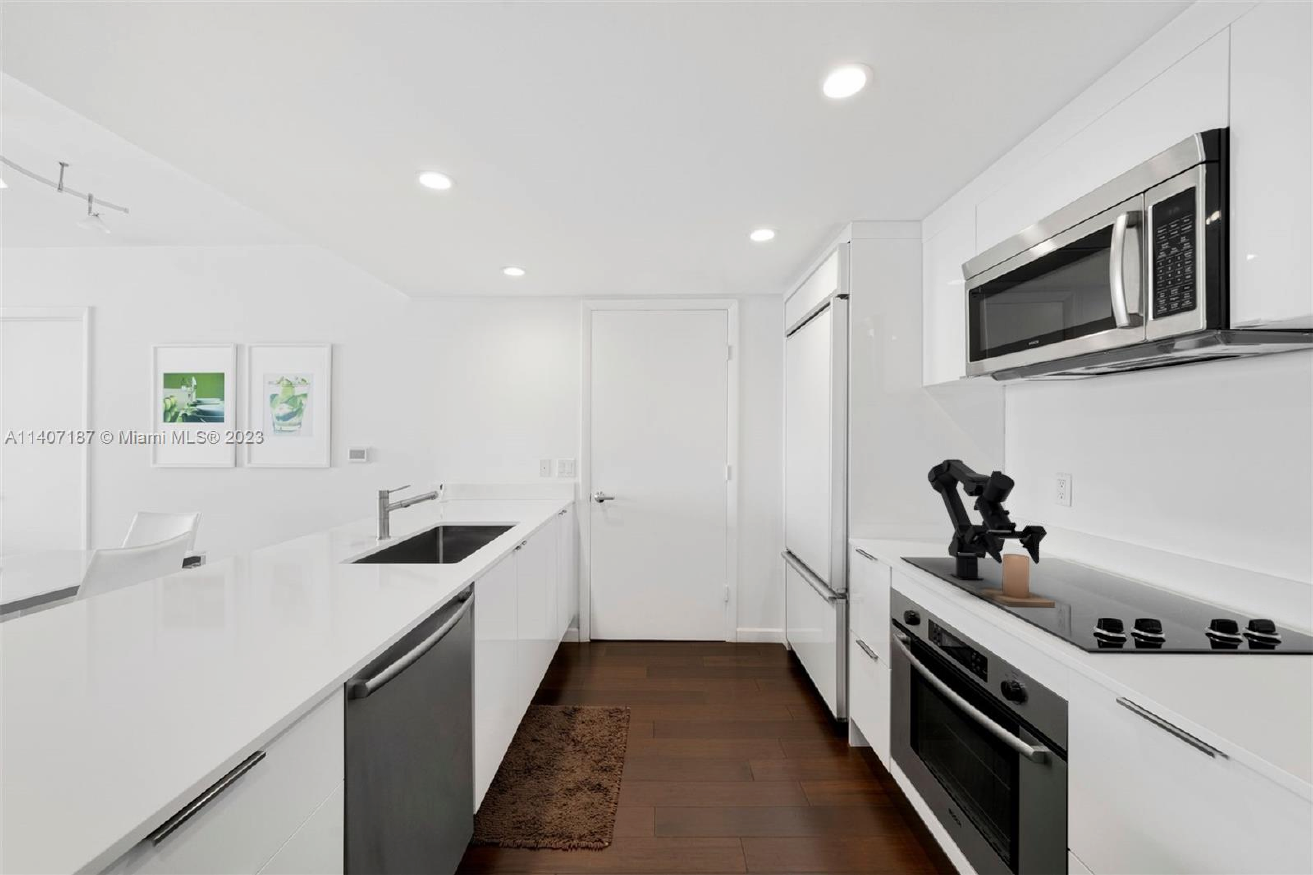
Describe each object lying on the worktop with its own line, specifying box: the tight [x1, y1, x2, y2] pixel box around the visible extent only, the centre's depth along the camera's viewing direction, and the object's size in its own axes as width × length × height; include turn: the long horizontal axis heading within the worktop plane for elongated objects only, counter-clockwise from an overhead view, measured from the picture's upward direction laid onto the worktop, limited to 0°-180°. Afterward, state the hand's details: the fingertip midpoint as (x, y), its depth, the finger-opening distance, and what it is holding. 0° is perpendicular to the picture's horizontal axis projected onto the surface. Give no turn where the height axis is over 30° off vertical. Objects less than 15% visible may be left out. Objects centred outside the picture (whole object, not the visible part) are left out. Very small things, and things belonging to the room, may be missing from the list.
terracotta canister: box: [1002, 553, 1030, 598], centre depth 141 cm, size 6×6×10 cm
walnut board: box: [980, 588, 1056, 608], centre depth 141 cm, size 12×11×1 cm
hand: (1019, 562), depth 140 cm, fingers open, 9 cm apart
